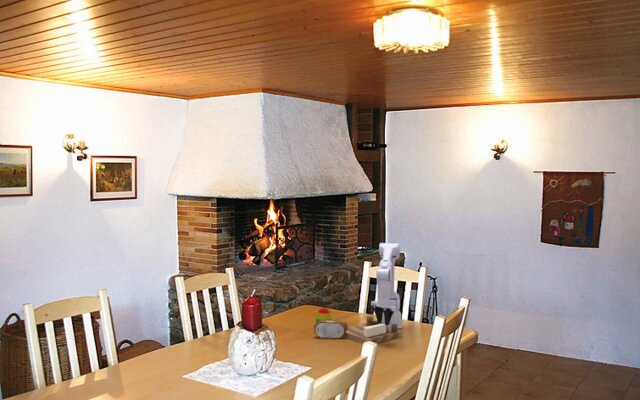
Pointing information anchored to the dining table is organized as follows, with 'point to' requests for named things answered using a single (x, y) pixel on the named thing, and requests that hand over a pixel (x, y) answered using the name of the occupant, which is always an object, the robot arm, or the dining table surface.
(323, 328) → the tin
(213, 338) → the dining table surface
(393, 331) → the stool seat
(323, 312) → the decorative egg
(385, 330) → the folding leg
